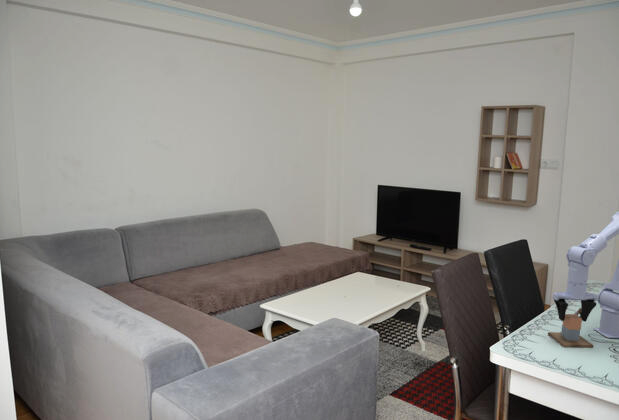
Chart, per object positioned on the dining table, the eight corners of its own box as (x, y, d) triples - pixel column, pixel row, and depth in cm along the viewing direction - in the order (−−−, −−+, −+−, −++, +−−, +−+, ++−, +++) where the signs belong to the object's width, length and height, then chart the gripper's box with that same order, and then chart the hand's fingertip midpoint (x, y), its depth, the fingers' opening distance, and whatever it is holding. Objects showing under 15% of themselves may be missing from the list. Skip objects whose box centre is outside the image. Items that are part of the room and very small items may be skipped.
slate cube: (572, 335, 163) (573, 324, 163) (578, 340, 159) (580, 329, 159) (560, 335, 163) (562, 324, 163) (567, 340, 159) (568, 329, 159)
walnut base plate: (575, 335, 166) (575, 332, 166) (593, 347, 156) (593, 345, 156) (547, 334, 166) (548, 332, 166) (563, 347, 156) (564, 344, 156)
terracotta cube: (573, 325, 162) (575, 314, 162) (580, 329, 159) (582, 318, 158) (562, 324, 162) (563, 313, 162) (569, 329, 158) (570, 318, 158)
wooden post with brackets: (586, 317, 182) (584, 307, 181) (572, 328, 179) (571, 318, 178) (581, 315, 184) (579, 305, 182) (568, 326, 181) (566, 317, 179)
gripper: (590, 278, 162) (586, 316, 164) (549, 277, 162) (545, 315, 164) (604, 285, 155) (598, 324, 157) (561, 284, 155) (556, 323, 157)
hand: (572, 320), depth 160 cm, fingers open, 7 cm apart
